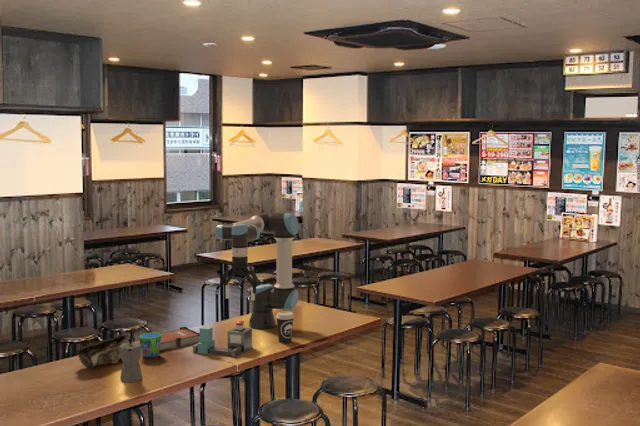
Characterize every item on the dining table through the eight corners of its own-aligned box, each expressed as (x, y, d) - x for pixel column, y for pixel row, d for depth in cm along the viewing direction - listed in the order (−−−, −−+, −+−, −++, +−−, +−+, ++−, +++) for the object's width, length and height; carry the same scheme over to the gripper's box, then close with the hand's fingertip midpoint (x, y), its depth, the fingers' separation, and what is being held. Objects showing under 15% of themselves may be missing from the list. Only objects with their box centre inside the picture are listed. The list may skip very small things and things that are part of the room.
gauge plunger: (238, 332, 327) (238, 320, 327) (245, 333, 326) (245, 321, 325) (234, 335, 324) (234, 322, 323) (241, 335, 322) (241, 323, 322)
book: (155, 353, 320) (155, 343, 320) (139, 345, 334) (139, 335, 333) (202, 342, 338) (201, 333, 337) (185, 335, 351) (185, 326, 350)
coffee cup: (295, 339, 343) (295, 311, 342) (292, 344, 334) (292, 315, 332) (277, 338, 344) (277, 310, 343) (274, 343, 335) (274, 315, 333)
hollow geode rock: (79, 381, 293) (90, 363, 285) (67, 358, 298) (77, 340, 290) (132, 364, 314) (144, 346, 306) (120, 342, 319) (131, 325, 311)
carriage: (206, 348, 326) (205, 325, 325) (214, 349, 325) (214, 326, 323) (197, 352, 319) (197, 329, 318) (206, 354, 317) (206, 330, 316)
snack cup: (138, 352, 321) (137, 331, 320) (160, 349, 324) (159, 329, 323) (140, 361, 306) (140, 340, 305) (163, 359, 310) (163, 338, 309)
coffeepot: (141, 383, 278) (140, 342, 276) (118, 385, 276) (117, 343, 274) (143, 371, 293) (142, 332, 291) (121, 373, 291) (120, 333, 289)
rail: (200, 348, 327) (199, 342, 327) (241, 353, 319) (241, 346, 319) (192, 352, 320) (192, 346, 320) (234, 357, 313) (234, 351, 312)
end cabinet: (236, 345, 331) (235, 326, 330) (252, 347, 328) (251, 328, 327) (227, 351, 323) (227, 331, 322) (243, 352, 320) (243, 333, 319)
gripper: (213, 255, 315) (213, 298, 317) (260, 258, 307) (260, 302, 309) (220, 253, 322) (220, 295, 324) (266, 256, 314) (266, 299, 316)
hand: (240, 299), depth 316 cm, fingers open, 13 cm apart
